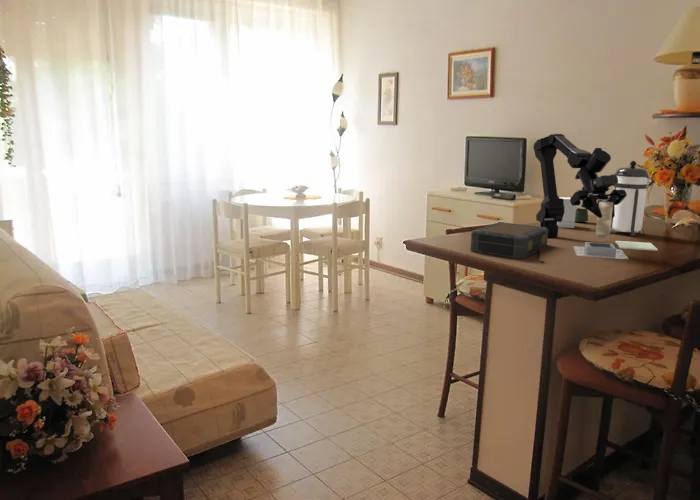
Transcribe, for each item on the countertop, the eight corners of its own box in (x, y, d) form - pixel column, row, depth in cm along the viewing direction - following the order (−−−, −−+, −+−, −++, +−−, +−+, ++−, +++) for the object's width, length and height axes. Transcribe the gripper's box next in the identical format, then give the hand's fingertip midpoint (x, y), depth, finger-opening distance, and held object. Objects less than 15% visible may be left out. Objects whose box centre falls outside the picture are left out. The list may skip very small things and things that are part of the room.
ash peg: (596, 237, 197) (600, 202, 195) (594, 235, 201) (598, 201, 199) (610, 238, 196) (614, 203, 193) (608, 236, 200) (612, 201, 198)
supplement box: (574, 228, 252) (577, 199, 249) (556, 227, 254) (559, 198, 251) (571, 225, 259) (574, 197, 257) (554, 224, 261) (556, 196, 258)
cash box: (495, 241, 223) (496, 221, 222) (548, 248, 212) (549, 227, 210) (466, 251, 204) (468, 230, 202) (523, 260, 192) (524, 237, 190)
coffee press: (635, 230, 249) (644, 159, 242) (650, 237, 233) (660, 162, 227) (594, 229, 251) (601, 159, 244) (606, 236, 235) (614, 161, 229)
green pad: (620, 251, 207) (620, 246, 207) (615, 244, 218) (615, 240, 218) (657, 253, 204) (657, 249, 203) (650, 246, 215) (650, 242, 215)
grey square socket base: (576, 258, 195) (577, 248, 194) (572, 248, 210) (573, 239, 209) (628, 262, 190) (629, 251, 189) (620, 252, 205) (622, 242, 204)
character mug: (595, 222, 267) (598, 194, 264) (589, 224, 262) (592, 195, 259) (572, 219, 274) (574, 192, 272) (565, 221, 269) (568, 193, 267)
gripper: (578, 166, 195) (594, 203, 187) (626, 166, 199) (645, 202, 191) (562, 187, 205) (578, 223, 196) (609, 186, 208) (626, 221, 200)
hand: (607, 217), depth 196 cm, fingers closed on ash peg, 4 cm apart
